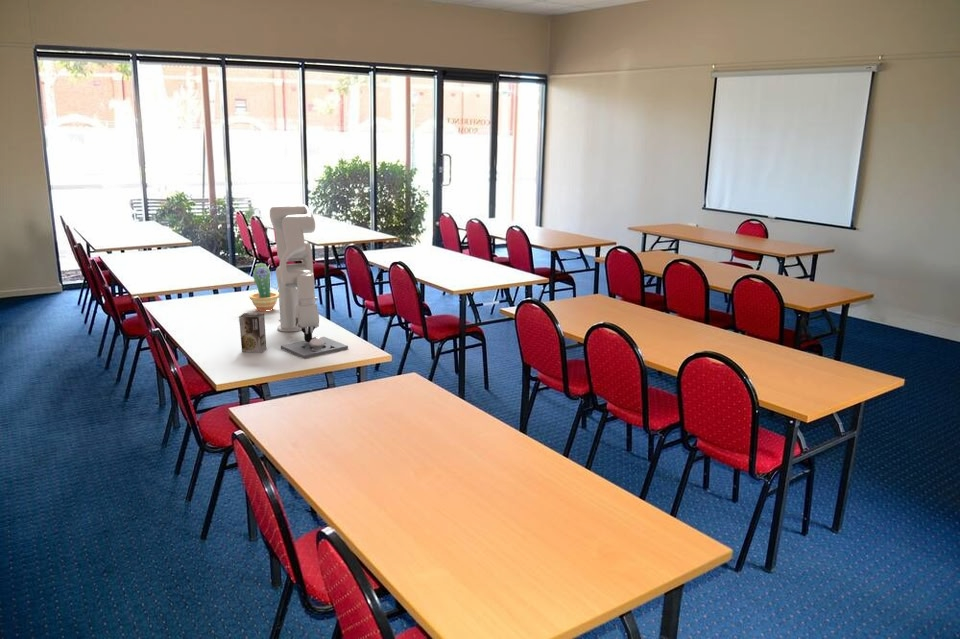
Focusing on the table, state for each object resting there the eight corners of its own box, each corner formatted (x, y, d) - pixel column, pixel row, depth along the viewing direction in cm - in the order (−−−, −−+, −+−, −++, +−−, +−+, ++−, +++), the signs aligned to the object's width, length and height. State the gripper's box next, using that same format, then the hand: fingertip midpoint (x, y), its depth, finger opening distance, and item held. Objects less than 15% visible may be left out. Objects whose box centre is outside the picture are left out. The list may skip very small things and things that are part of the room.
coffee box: (267, 348, 323) (264, 313, 319) (261, 353, 317) (259, 316, 313) (247, 347, 324) (244, 312, 320) (241, 352, 318) (238, 316, 314)
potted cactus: (244, 311, 388) (240, 265, 382) (260, 305, 403) (257, 260, 396) (269, 314, 384) (266, 267, 378) (285, 307, 398) (283, 262, 392)
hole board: (280, 348, 324) (280, 345, 323) (324, 339, 338) (324, 336, 338) (303, 358, 310) (303, 355, 309) (348, 349, 324) (348, 345, 324)
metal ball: (311, 336, 318) (312, 350, 318) (325, 335, 321) (326, 349, 321) (307, 337, 323) (308, 351, 323) (320, 336, 326) (322, 350, 326)
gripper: (316, 297, 330) (318, 336, 335) (286, 302, 320) (289, 342, 325) (325, 300, 325) (327, 340, 329) (295, 305, 315) (297, 346, 319)
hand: (308, 341), depth 327 cm, fingers closed
